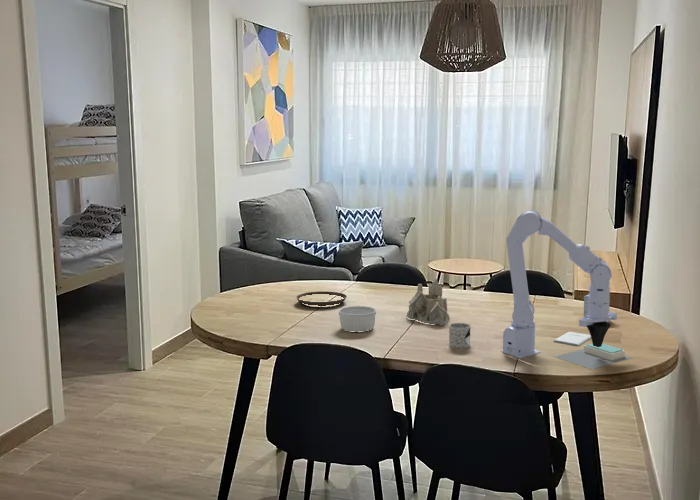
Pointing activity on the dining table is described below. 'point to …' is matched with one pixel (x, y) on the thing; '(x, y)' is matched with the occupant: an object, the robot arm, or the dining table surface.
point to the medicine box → (587, 304)
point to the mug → (459, 335)
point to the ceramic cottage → (429, 305)
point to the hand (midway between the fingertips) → (597, 346)
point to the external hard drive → (573, 338)
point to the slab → (605, 351)
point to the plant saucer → (322, 302)
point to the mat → (588, 359)
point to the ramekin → (357, 318)
